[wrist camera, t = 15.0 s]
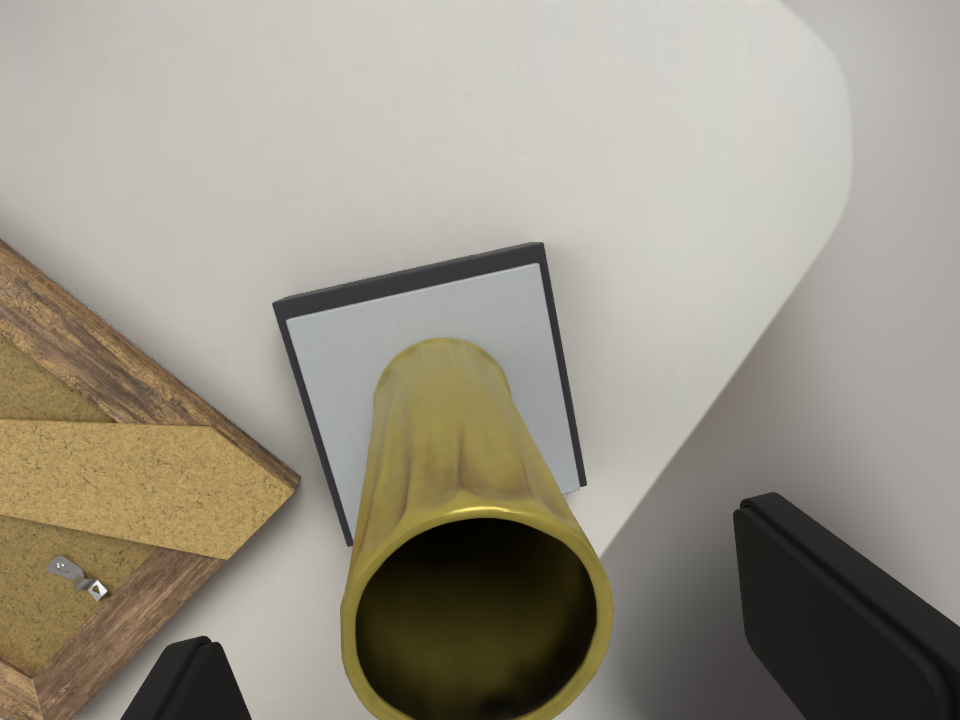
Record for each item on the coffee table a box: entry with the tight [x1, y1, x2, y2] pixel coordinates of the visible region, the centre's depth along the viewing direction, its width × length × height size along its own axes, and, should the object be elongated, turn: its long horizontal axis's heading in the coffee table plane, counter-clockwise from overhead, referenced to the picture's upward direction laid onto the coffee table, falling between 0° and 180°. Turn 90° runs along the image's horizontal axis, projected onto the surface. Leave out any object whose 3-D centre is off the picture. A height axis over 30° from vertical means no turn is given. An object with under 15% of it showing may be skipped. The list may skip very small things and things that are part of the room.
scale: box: [272, 242, 587, 547], centre depth 25 cm, size 12×12×3 cm
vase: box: [340, 338, 614, 720], centre depth 17 cm, size 6×6×14 cm
